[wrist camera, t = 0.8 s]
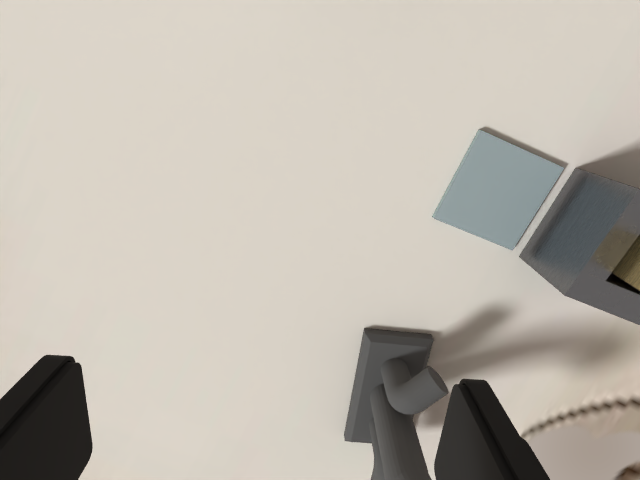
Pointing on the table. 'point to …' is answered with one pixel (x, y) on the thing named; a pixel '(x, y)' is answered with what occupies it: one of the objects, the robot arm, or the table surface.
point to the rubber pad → (496, 190)
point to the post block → (589, 243)
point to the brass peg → (630, 265)
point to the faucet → (393, 401)
